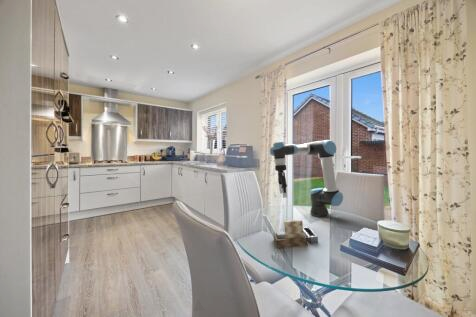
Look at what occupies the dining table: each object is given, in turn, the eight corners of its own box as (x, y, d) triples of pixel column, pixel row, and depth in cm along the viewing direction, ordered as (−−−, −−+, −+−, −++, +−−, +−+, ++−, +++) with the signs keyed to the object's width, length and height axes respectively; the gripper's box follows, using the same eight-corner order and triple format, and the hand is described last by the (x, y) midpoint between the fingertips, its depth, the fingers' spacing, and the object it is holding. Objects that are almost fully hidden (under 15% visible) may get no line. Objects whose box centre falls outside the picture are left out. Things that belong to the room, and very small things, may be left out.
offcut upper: (284, 235, 132) (283, 231, 132) (286, 238, 128) (285, 234, 127) (276, 236, 132) (275, 232, 132) (278, 239, 127) (277, 235, 127)
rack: (302, 237, 133) (301, 229, 133) (307, 245, 121) (307, 237, 121) (274, 239, 134) (273, 232, 134) (277, 248, 122) (276, 240, 121)
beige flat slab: (303, 243, 125) (301, 219, 125) (304, 244, 123) (302, 220, 123) (286, 244, 125) (284, 221, 125) (286, 246, 123) (284, 222, 123)
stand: (301, 233, 139) (301, 227, 139) (309, 232, 139) (309, 226, 139) (309, 243, 123) (308, 237, 123) (318, 242, 123) (317, 236, 123)
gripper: (272, 164, 148) (275, 192, 148) (277, 166, 123) (280, 199, 123) (282, 163, 147) (285, 191, 148) (289, 165, 123) (292, 198, 123)
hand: (283, 195), depth 136 cm, fingers open, 13 cm apart
